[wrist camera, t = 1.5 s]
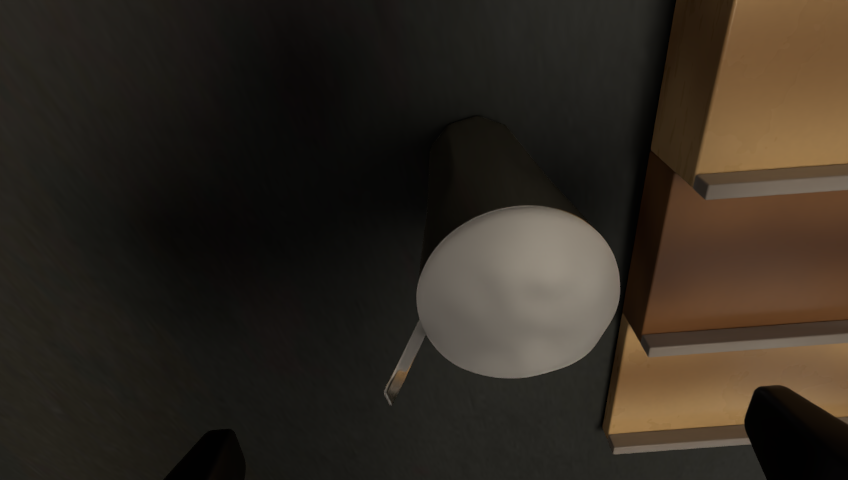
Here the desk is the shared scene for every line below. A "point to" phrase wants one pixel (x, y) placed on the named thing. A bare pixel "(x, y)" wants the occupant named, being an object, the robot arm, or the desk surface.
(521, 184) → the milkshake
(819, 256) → the rack
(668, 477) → the desk surface
